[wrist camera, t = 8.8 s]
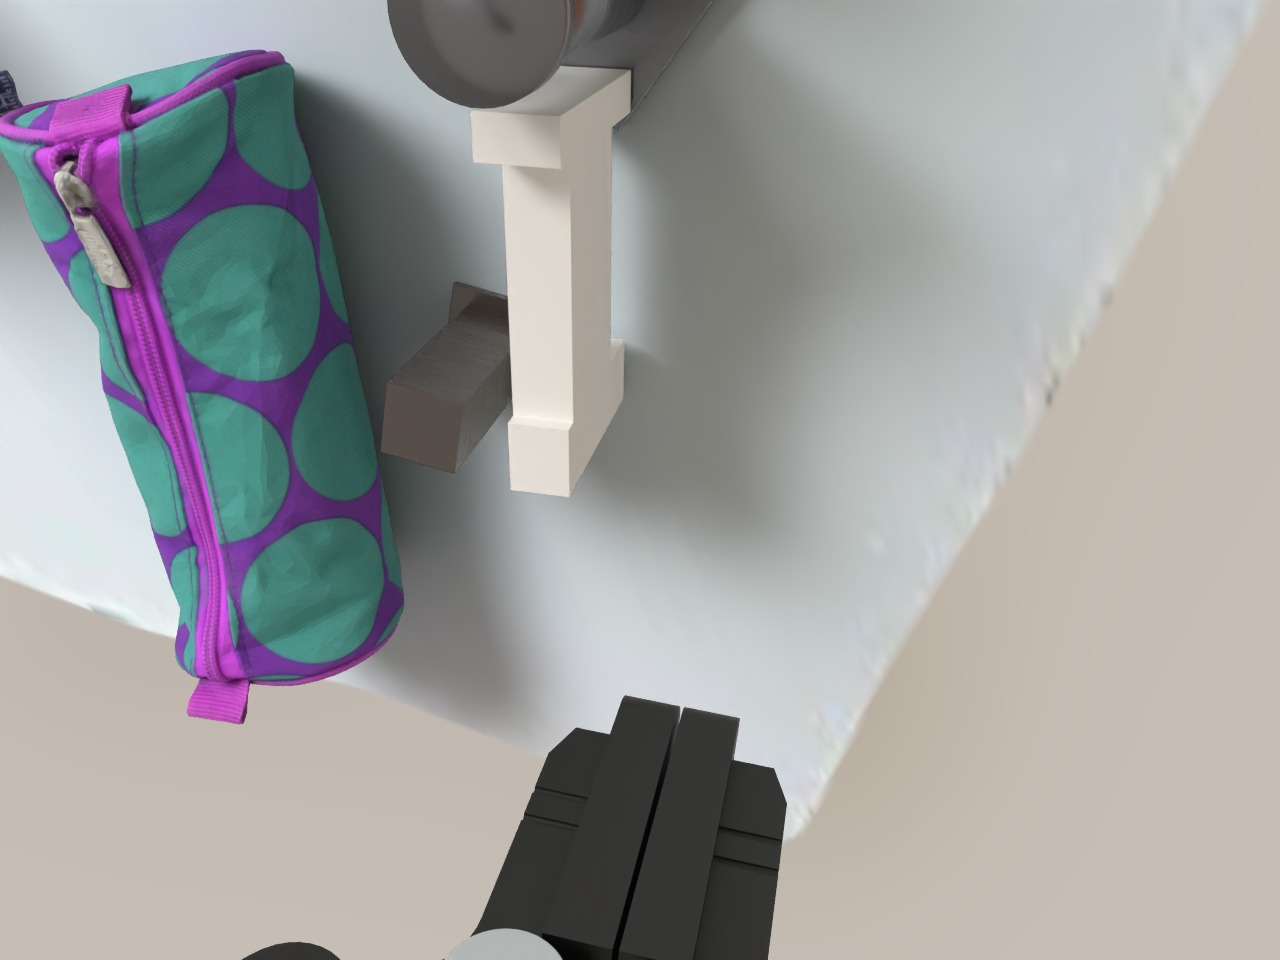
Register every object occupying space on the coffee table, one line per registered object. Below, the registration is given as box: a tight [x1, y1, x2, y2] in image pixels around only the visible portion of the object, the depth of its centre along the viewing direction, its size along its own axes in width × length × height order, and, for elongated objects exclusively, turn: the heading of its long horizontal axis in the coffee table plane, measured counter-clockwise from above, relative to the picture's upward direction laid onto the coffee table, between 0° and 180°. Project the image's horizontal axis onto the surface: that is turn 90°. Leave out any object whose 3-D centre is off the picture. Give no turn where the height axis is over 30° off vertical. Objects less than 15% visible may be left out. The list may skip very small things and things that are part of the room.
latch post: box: [381, 282, 512, 474], centre depth 34 cm, size 4×4×7 cm
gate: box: [470, 66, 631, 497], centre depth 30 cm, size 11×2×8 cm, turn 178°
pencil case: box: [0, 50, 404, 724], centre depth 35 cm, size 21×9×10 cm, turn 4°
